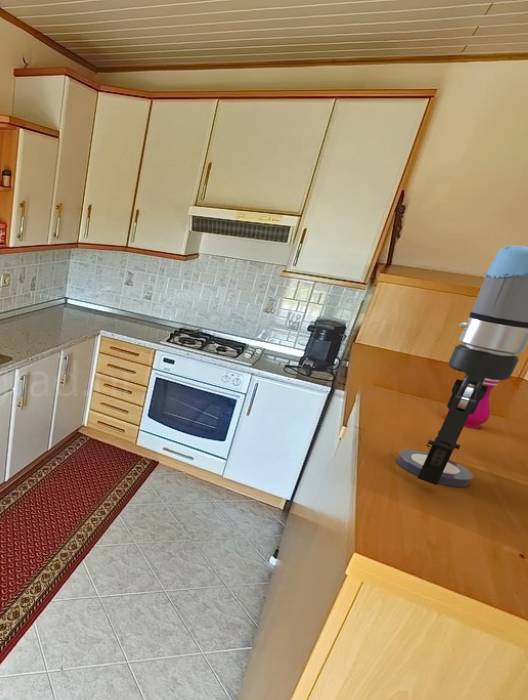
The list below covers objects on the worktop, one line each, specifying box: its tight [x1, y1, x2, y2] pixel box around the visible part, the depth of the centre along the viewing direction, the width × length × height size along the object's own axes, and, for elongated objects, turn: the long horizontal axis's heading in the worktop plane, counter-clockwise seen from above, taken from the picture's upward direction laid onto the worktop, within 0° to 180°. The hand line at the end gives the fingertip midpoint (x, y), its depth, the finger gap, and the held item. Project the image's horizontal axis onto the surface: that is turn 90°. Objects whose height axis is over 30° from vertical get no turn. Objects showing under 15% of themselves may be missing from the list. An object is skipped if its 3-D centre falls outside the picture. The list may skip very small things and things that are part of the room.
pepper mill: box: [447, 378, 500, 429], centre depth 112 cm, size 7×7×20 cm
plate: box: [395, 449, 474, 488], centre depth 91 cm, size 11×11×2 cm
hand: (427, 480), depth 84 cm, fingers closed
